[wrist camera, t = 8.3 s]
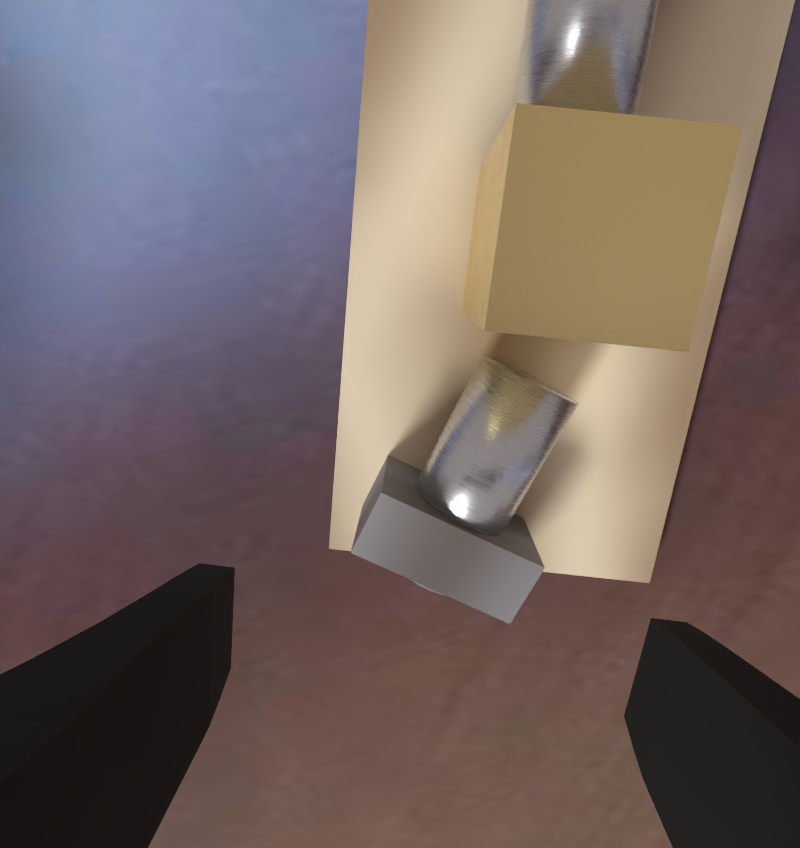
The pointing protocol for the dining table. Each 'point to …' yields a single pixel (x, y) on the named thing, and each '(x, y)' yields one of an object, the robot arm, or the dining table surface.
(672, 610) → the dining table surface
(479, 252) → the yellow rectangular block
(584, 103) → the shaft straight
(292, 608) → the dining table surface
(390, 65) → the board
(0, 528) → the dining table surface
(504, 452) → the shaft angled
